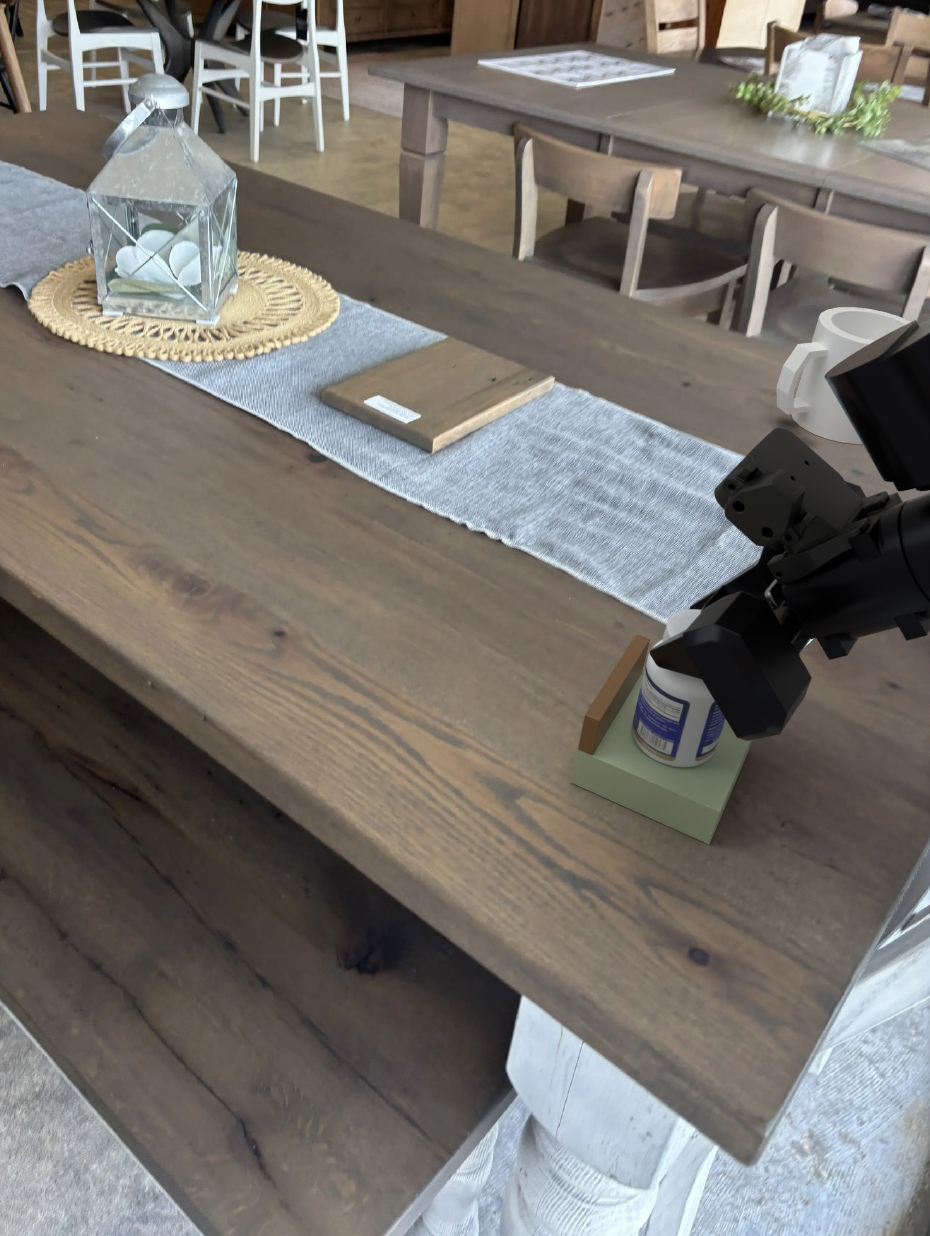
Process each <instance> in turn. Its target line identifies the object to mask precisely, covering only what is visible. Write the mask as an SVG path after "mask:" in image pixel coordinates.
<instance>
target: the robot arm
mask: <svg viewBox="0 0 930 1236" xmlns="http://www.w3.org/2000/svg"><path fill="white" fill-rule="evenodd" d="M824 377H825V379H826V381H827V383H828V384H829V386H830V388H831V390H832V391H833V393H834V395H835V397H836V398H837V400H838V402H839V404H840V405H841V407H842V409H843V411H844V412H845V414H846V416H847V418H848V419H849V421H850V423H851V425H852V426H853V428H854V430H855V432H856V433H857V435H858V437H859V438H860V440H861V442H862V444H861V445H863V447H864V449H865V451H866V453H867V454H868V456H869V458H870V459H871V461H872V463H873V465H874V467H875V468H876V470H877V472H878V473H879V475H880V477H881V478H882V480H883V482H887V483H893V485H894V487H895V489H896V491H897V492H895V493H892V494H889V493H888V492H887V491H886V490H883V491H880V492H878V493H876V494H873V495H870V496H866V494H865V492H864V490H863V489H862V487H861V485H858V484H855V483H852V482H849V481H846V480H845V479H844V477H843V476H842V475H841V474H840V473H839V472H838V471H837V469H835V468H834V467H833V466H831V465H830V464H829V463H828V462H827V461H826V460H825V459H823V458H822V457H821V456H820V455H819V454H818V453H817V452H815V451H814V449H812V448H811V447H810V446H809V445H807V444H806V442H804V441H803V440H802V439H800V437H798V435H796V434H795V433H793V432H792V431H791V430H789V429H786V428H785V427H775V428H773V429H772V430H771V431H770V432H769V433H768V434H767V435H766V436H764V438H763V439H762V440H760V441H759V442H758V443H757V444H756V445H755V446H754V447H753V448H752V449H751V450H750V451H749V452H748V453H747V454H746V455H745V456H744V458H742V459H741V460H740V461H739V462H738V464H736V466H735V467H734V468H733V469H732V470H731V471H730V472H729V473H728V474H727V475H726V476H725V477H724V478H723V479H722V480H721V482H719V484H717V486H715V488H714V491H713V494H714V498H715V501H716V502H717V504H718V506H719V507H720V508H721V509H722V510H723V513H724V517H725V518H726V520H727V521H728V522H730V524H732V525H733V526H734V527H735V528H736V529H737V530H738V531H740V533H741V534H743V535H744V536H745V537H746V538H747V539H748V540H749V541H750V542H751V543H752V544H754V545H755V546H757V547H762V550H761V553H760V556H759V558H758V559H757V560H755V561H754V562H753V563H751V564H750V565H748V566H746V567H745V568H743V569H742V570H741V571H739V572H738V573H737V574H735V575H733V576H732V577H730V578H729V579H728V580H726V581H724V582H723V583H721V584H720V585H718V586H717V587H716V588H714V589H712V590H711V591H710V592H708V593H707V594H705V595H704V596H703V597H701V598H699V599H698V600H697V601H695V602H693V603H692V604H691V605H690V607H689V609H697V610H701V613H700V614H699V616H698V617H697V618H696V619H695V620H694V621H693V622H692V623H691V625H690V626H689V627H688V628H687V629H686V630H685V631H683V632H681V633H679V634H677V635H675V636H673V637H671V638H669V639H668V640H666V641H664V642H662V643H661V644H659V645H657V646H655V647H654V646H653V647H654V648H653V647H651V649H650V650H649V653H650V655H651V657H652V659H653V660H654V662H655V664H656V665H657V666H658V667H660V668H663V669H667V670H670V671H674V672H677V673H681V674H684V675H688V676H691V677H695V678H698V679H702V680H703V682H704V684H705V685H706V687H707V689H708V690H709V692H710V694H711V695H712V697H713V699H714V700H715V702H716V704H717V705H718V707H719V709H720V710H721V712H722V714H723V715H724V717H725V719H726V720H727V722H728V724H729V725H730V727H731V729H732V730H733V732H734V734H735V735H736V737H737V738H739V739H743V740H746V741H749V740H752V741H754V740H759V739H764V738H769V737H776V736H780V735H781V734H782V732H783V731H784V729H785V727H786V726H787V725H788V723H789V721H790V720H791V718H792V717H793V716H794V714H795V712H796V711H797V709H798V708H799V707H800V705H801V703H802V702H803V700H804V699H805V697H806V695H807V692H808V690H809V687H810V684H811V681H812V679H813V677H812V675H811V673H810V671H809V670H808V668H807V666H806V665H805V662H804V661H803V660H802V658H801V653H802V652H803V651H804V649H805V648H806V646H808V644H809V642H810V641H811V640H815V639H816V640H817V642H818V644H819V646H820V648H821V649H822V651H823V652H824V654H825V655H826V657H827V659H828V660H829V661H832V660H835V659H839V658H843V657H847V656H848V655H849V653H850V652H851V650H852V649H853V647H854V646H855V645H856V643H857V641H858V640H859V638H863V637H866V636H870V635H875V634H879V633H881V632H886V631H890V630H894V629H898V628H899V631H900V632H901V634H902V636H903V638H904V639H905V641H912V640H915V639H919V638H924V637H927V636H928V635H929V634H930V492H928V491H930V318H927V319H925V320H923V321H920V322H919V323H918V321H917V320H916V319H914V320H912V321H910V323H908V324H906V325H904V326H902V327H900V328H898V329H896V330H894V331H892V332H890V333H888V334H886V335H885V336H883V337H881V338H879V339H877V340H876V341H874V342H872V343H870V344H869V345H867V346H865V347H863V348H862V349H860V350H858V351H857V352H855V353H854V354H852V355H850V356H849V357H847V358H846V359H844V360H843V361H841V362H840V363H838V364H837V365H836V366H834V367H833V368H832V369H830V370H829V371H828V372H827V373H826V374H825V376H824ZM914 489H915V490H916V491H918V492H928V493H925V494H923V495H920V496H917V497H914V498H911V499H908V500H905V501H903V500H902V498H901V496H900V494H899V493H900V492H906V491H910V490H914ZM898 492H899V493H898Z"/></svg>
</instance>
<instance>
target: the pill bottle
mask: <svg viewBox="0 0 930 1236" xmlns="http://www.w3.org/2000/svg"><path fill="white" fill-rule="evenodd" d="M700 613H701V610H697V609H690V608H689V609H683V610H679V611H677V612H676V613H674V614H673V615H671V616H670V617H669V618H668V620H667V623H666V626H665V629H664V632H663V636H662V639H660V640H659V641H658V642H656V643H655V644H654V645H653V646H652V648H654V647H655V646H657V645H659V644H661V643H662V642H664V641H666V640H668V639H669V638H671V637H673V636H675V635H677V634H679V633H681V632H683V631H685V630H686V629H687V628H688V627H689V626H690V625H691V623H692V622H693V621H694V620H695V619H696V618H697V617H698V616H699V614H700ZM647 655H648V656H647V658H646V661H645V662H646V663H645V665H644V671H643V674H644V675H643V679H642V683H641V688H640V692H639V696H638V701H637V705H636V709H635V714H634V718H633V723H632V733H633V737H634V739H635V741H636V743H637V745H638V746H639V747H640V748H641V750H642V751H643V752H644V753H646V754H647V755H648V756H650V757H651V758H653V759H654V760H656V761H658V762H661V763H663V764H666V765H670V766H675V767H692V766H697V765H700V764H702V763H704V762H705V761H707V760H708V759H709V758H711V756H712V755H713V754H714V752H715V750H716V747H717V745H718V742H719V739H720V735H721V732H722V729H723V726H724V722H725V717H724V715H723V714H722V712H721V710H720V709H719V707H718V705H717V704H716V702H715V700H714V699H713V697H712V695H711V694H710V692H709V690H708V689H707V687H706V685H705V684H704V682H703V680H702V679H698V678H695V677H691V676H688V675H684V674H681V673H677V672H674V671H670V670H667V669H663V668H660V667H658V666H657V665H656V664H655V662H654V660H653V659H652V657H651V655H650V652H649V653H648V654H647Z"/></svg>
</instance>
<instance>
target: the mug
mask: <svg viewBox="0 0 930 1236" xmlns="http://www.w3.org/2000/svg"><path fill="white" fill-rule="evenodd" d="M910 322H911V321H910V320H908V319H907V318H906V319H905V318H903V317H901V316H900V315H899V316H898V315H895V314H893V313H889V312H886V311H881V310H876V309H873V308H872V309H871V308H864V307H856V306H855V307H854V306H843V307H842V306H840V307H838V306H837V307H833V308H829V309H826V310H824V311H822V312H821V313H820V314H819V316H818V319H817V322H816V326H815V330H814V332H813V335H812V339H811V342H805V343H797V345H796V346H795V348H794V349H793V350H792V352H791V353H790V355H789V356H788V358H787V359H786V361H785V362H784V363H783V365H782V367H781V371H780V374H779V377H778V381H777V383H776V407H777V408H778V409H779V410H781V411H782V412H783V413H785V414H786V415H791V418H792V420H793V421H794V422H795V423H796V424H797V425H798V426H799V427H800V428H802V429H804V430H805V431H807V432H809V433H810V434H813V435H815V436H818V437H821V438H823V439H826V440H830V441H834V442H838V443H842V444H851V445H863V444H862V442H861V440H860V438H859V437H858V435H857V433H856V432H855V430H854V428H853V426H852V425H851V423H850V421H849V419H848V418H847V416H846V414H845V412H844V411H843V409H842V407H841V405H840V404H839V402H838V400H837V398H836V397H835V395H834V393H833V391H832V390H831V388H830V386H829V384H828V383H827V381H826V379H825V377H824V376H825V374H826V373H827V372H828V371H829V370H830V369H832V368H833V367H834V366H836V365H837V364H838V363H840V362H841V361H843V360H844V359H846V358H847V357H849V356H850V355H852V354H854V353H855V352H857V351H858V350H860V349H862V348H863V347H865V346H867V345H869V344H870V343H872V342H874V341H876V340H877V339H879V338H881V337H883V336H885V335H886V334H888V333H890V332H892V331H894V330H896V329H898V328H900V327H902V326H904V325H906V324H908V323H910ZM800 375H801V376H800ZM798 382H799V384H798ZM797 385H798V386H797ZM795 391H796V393H795Z"/></svg>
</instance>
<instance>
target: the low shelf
mask: <svg viewBox="0 0 930 1236" xmlns="http://www.w3.org/2000/svg"><path fill="white" fill-rule="evenodd" d="M650 644H651V639H650V638H648V637H646V636H643V635H640V634H638V633H636V634H635V635H634V637H633V638H632V640H631V641H630V643H629V645H628V646H627V648H626V649H625V651H624V653H623V654H622V655H621V657H620V659H619V660H618V662H617V663H616V665H615V666H614V668H613V669H612V672H611V673H610V675H609V676H608V678H607V679H606V680H605V682H604V684H603V685H602V687H601V689H600V690H599V691H598V693H597V695H596V696H595V698H594V700H593V701H592V703H591V704H590V706H589V707H588V709H587V711H586V713H584V717H583V721H582V727H581V732H580V736H579V741H578V746H577V751H576V756H575V760H574V765H573V769H572V775H571V780H570V783H571V784H573V785H575V786H578V787H579V788H582V789H583V790H587V791H588V792H591V793H593V794H595V795H597V796H599V797H602V798H603V799H606V800H608V801H610V802H613V803H615V804H616V805H617V804H618V805H619V806H622V807H625V808H626V809H628V810H630V811H633V812H635V813H638V814H640V815H642V816H644V817H646V818H649V819H650V820H653V821H655V822H658V823H660V824H662V825H664V826H666V827H669V828H671V829H673V830H675V831H678V832H680V833H682V834H683V835H686V836H688V837H691V838H693V839H695V840H697V841H699V842H701V843H704V844H706V845H710V844H711V842H712V840H713V837H714V835H715V832H716V830H717V827H718V825H719V823H720V821H721V818H722V816H723V813H724V811H725V808H726V806H727V804H728V802H729V799H730V796H731V794H732V792H733V790H734V787H735V785H736V783H737V780H738V778H739V775H740V773H741V770H742V768H743V765H744V764H745V761H746V758H747V756H748V753H749V751H750V748H751V745H752V743H753V740H749V741H746V740H743V739H739V738H737V737H736V735H735V734H734V732H733V730H732V729H731V727H730V725H729V724H728V722H727V720H726V719H725V722H724V726H723V729H722V732H721V735H720V739H719V742H718V745H717V747H716V750H715V752H714V754H713V755H712V756H711V758H709V759H708V760H707V761H705V762H704V763H702V764H700V765H697V766H692V767H675V766H670V765H666V764H663V763H661V762H658V761H656V760H654V759H653V758H651V757H650V756H648V755H647V754H646V753H644V752H643V751H642V750H641V748H640V747H639V746H638V745H637V743H636V741H635V739H634V737H633V733H632V723H633V718H634V714H635V709H636V705H637V701H638V696H639V692H640V688H641V683H642V679H643V675H644V671H643V670H644V668H645V664H646V663H645V662H646V660H647V655H648V650H649V646H650Z"/></svg>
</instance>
